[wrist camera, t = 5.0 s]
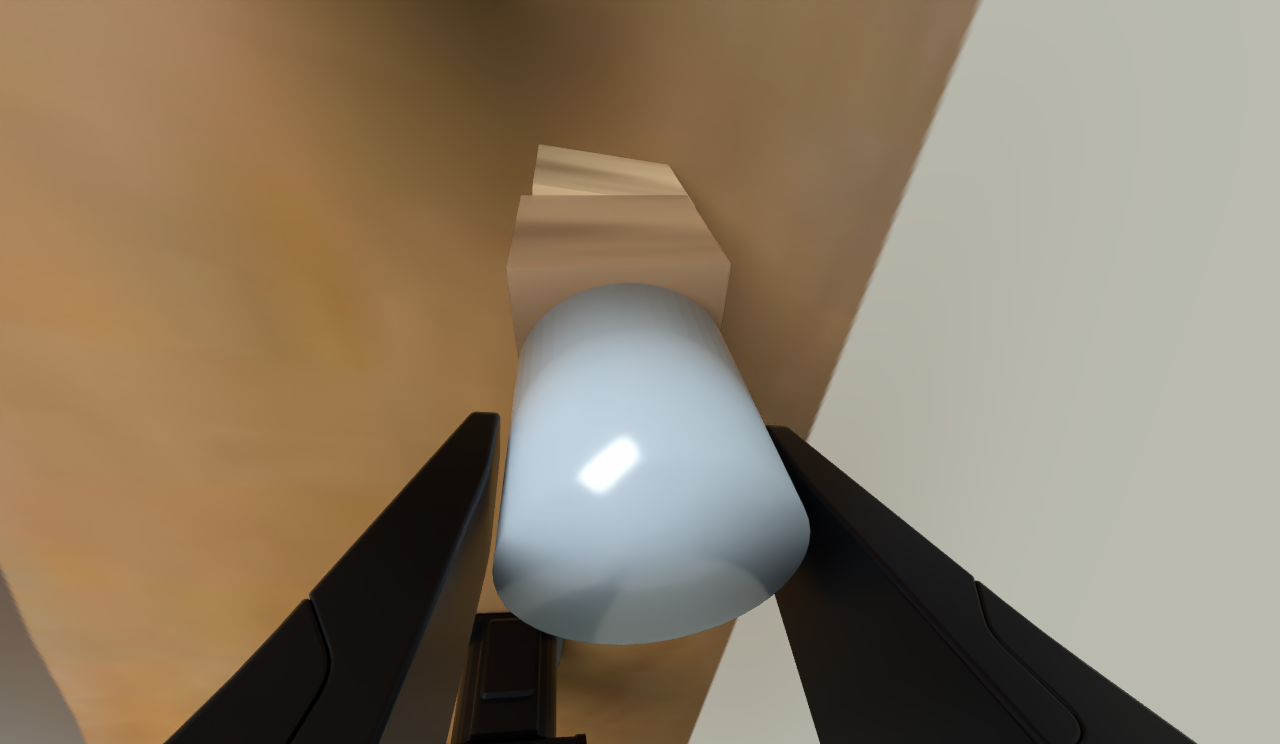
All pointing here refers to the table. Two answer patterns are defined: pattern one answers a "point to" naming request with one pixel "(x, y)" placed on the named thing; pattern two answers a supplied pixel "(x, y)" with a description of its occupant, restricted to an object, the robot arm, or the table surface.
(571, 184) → the tower base
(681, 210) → the tower top
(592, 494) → the pale blue rounded blob
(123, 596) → the table surface
